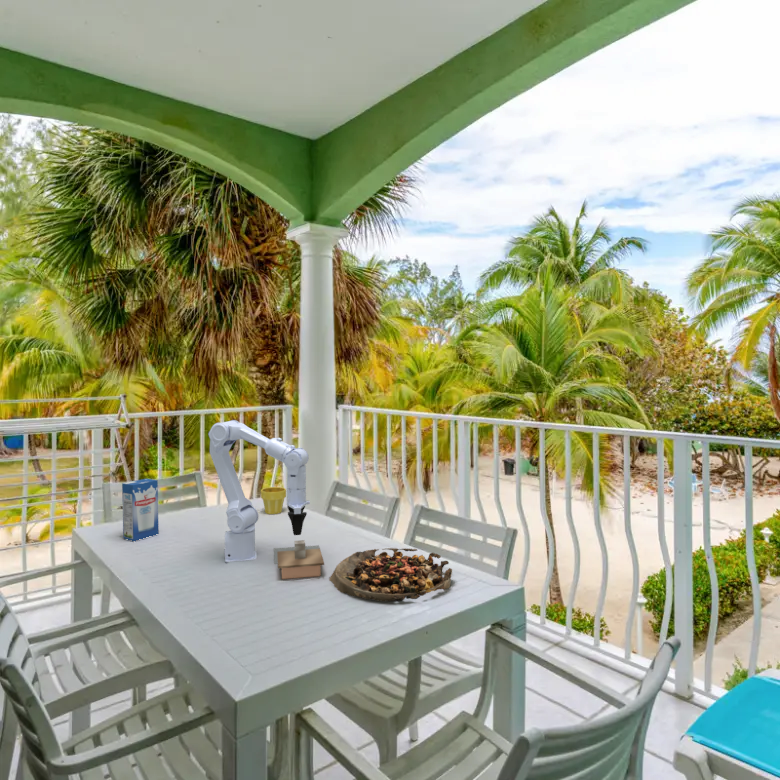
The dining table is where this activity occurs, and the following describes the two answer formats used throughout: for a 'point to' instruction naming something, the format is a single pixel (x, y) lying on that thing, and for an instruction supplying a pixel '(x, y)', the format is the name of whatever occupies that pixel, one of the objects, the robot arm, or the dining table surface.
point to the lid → (299, 556)
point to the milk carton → (140, 509)
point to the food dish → (389, 575)
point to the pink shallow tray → (301, 572)
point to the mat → (290, 550)
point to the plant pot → (273, 499)
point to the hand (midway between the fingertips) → (296, 531)
